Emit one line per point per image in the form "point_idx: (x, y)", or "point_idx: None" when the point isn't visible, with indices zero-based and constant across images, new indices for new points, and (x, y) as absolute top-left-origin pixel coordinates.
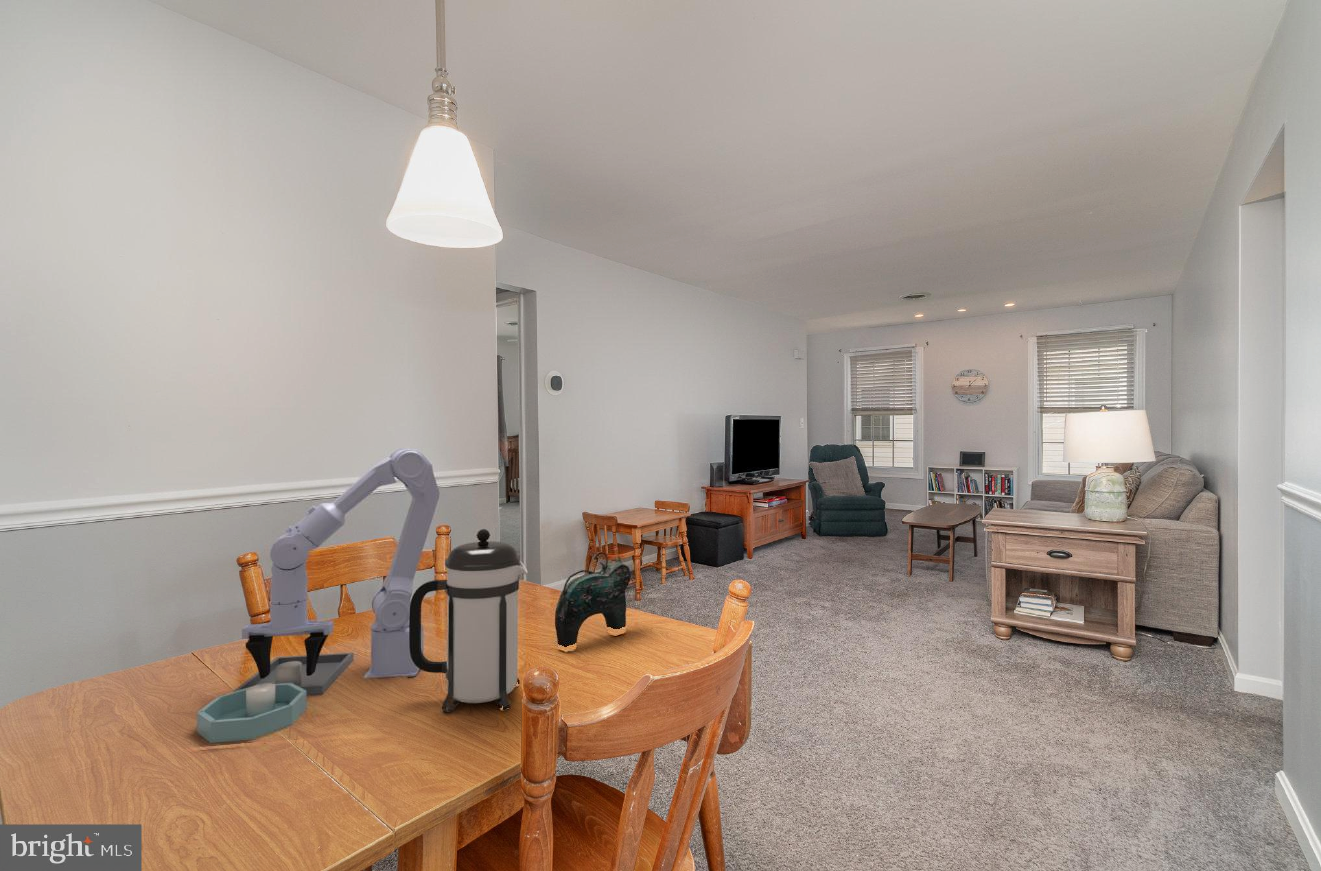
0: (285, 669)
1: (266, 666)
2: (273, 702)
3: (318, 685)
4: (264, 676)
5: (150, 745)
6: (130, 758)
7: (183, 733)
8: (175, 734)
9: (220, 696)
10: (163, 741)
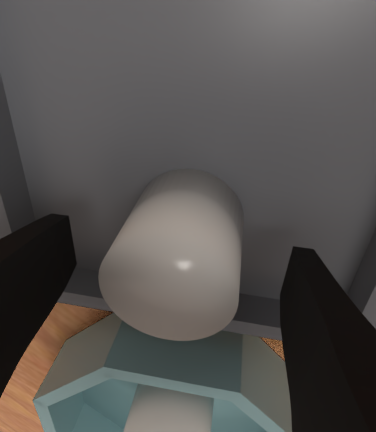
0: (173, 339)
1: (43, 279)
2: (212, 415)
3: None
4: (72, 270)
5: (14, 395)
6: (20, 420)
7: (41, 376)
8: (26, 375)
9: (40, 402)
10: (26, 391)
